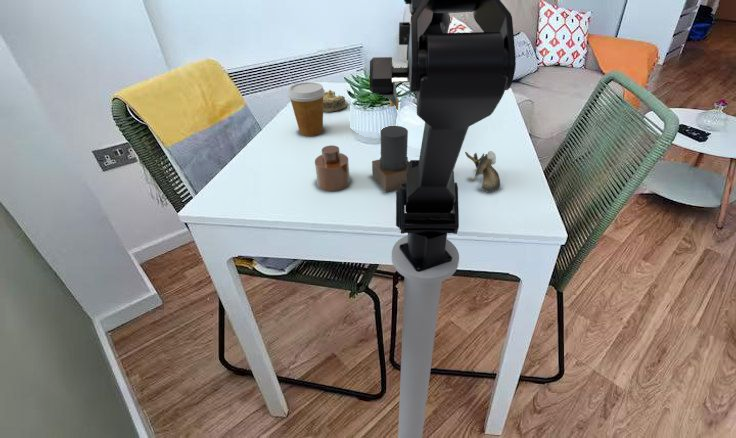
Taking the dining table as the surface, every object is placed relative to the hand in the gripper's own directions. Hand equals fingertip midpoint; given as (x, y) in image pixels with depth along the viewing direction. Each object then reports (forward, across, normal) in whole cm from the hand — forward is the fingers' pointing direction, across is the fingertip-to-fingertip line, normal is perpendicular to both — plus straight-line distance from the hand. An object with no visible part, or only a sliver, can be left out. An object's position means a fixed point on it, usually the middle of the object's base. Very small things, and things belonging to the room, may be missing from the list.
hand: (419, 102), depth 74 cm
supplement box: (+25, +6, -7) cm, 26 cm away
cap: (+8, +5, +9) cm, 13 cm away
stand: (+12, +5, +12) cm, 17 cm away
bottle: (+11, +18, +12) cm, 24 cm away
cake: (+37, +24, -25) cm, 50 cm away
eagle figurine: (+12, -14, +12) cm, 22 cm away
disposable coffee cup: (+27, +27, -10) cm, 39 cm away
